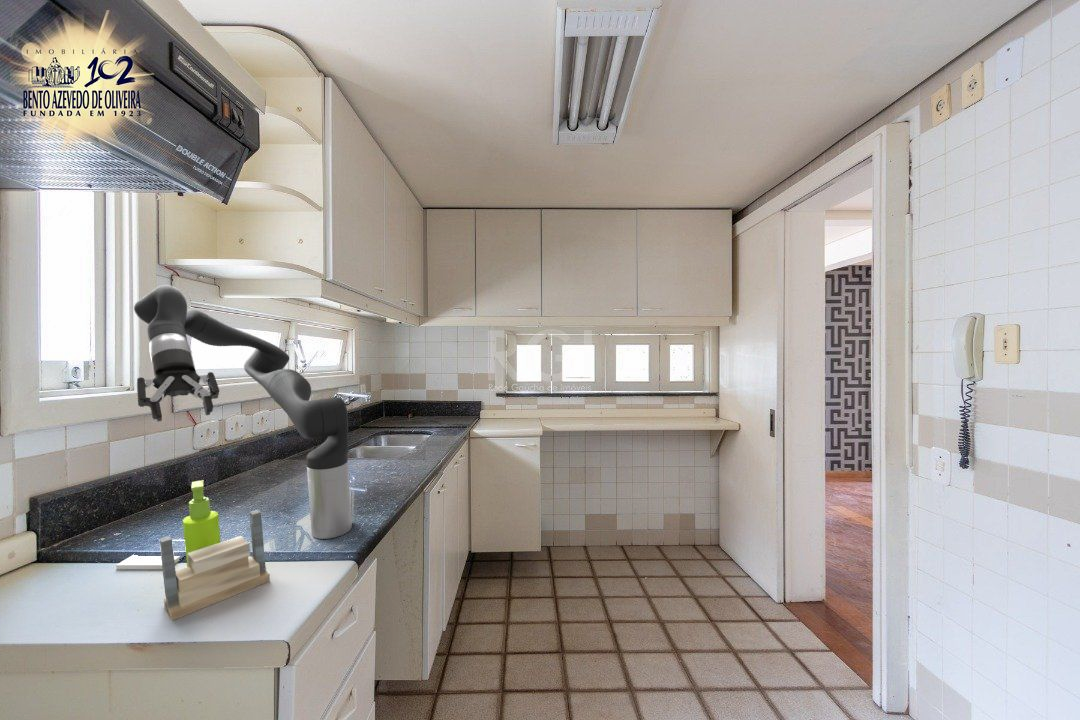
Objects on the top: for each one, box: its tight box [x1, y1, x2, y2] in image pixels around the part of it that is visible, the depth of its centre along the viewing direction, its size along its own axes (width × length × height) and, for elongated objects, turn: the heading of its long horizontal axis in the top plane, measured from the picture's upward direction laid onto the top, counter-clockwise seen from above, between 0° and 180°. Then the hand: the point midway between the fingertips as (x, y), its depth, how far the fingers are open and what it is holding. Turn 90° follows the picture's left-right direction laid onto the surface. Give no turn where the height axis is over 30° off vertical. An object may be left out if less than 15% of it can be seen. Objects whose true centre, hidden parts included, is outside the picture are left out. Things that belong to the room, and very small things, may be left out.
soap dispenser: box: [182, 479, 222, 568], centre depth 97 cm, size 6×7×20 cm
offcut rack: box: [158, 509, 271, 621], centre depth 91 cm, size 6×16×14 cm, turn 139°
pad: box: [115, 539, 185, 570], centre depth 106 cm, size 11×11×1 cm
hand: (184, 416), depth 102 cm, fingers open, 8 cm apart
